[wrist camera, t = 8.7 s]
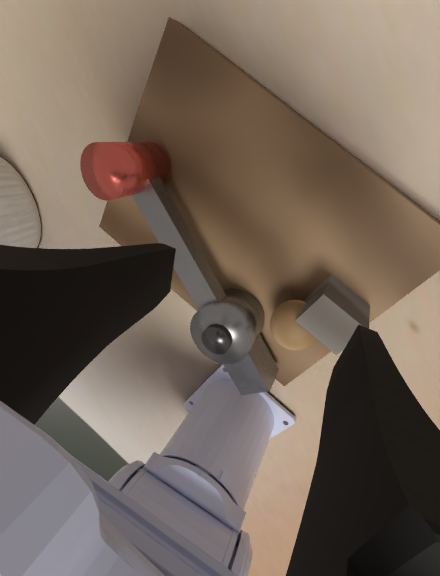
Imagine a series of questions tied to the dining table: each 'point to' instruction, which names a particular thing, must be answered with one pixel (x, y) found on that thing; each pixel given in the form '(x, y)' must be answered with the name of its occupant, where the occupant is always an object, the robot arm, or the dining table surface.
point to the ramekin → (17, 210)
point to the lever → (185, 260)
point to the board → (274, 205)
